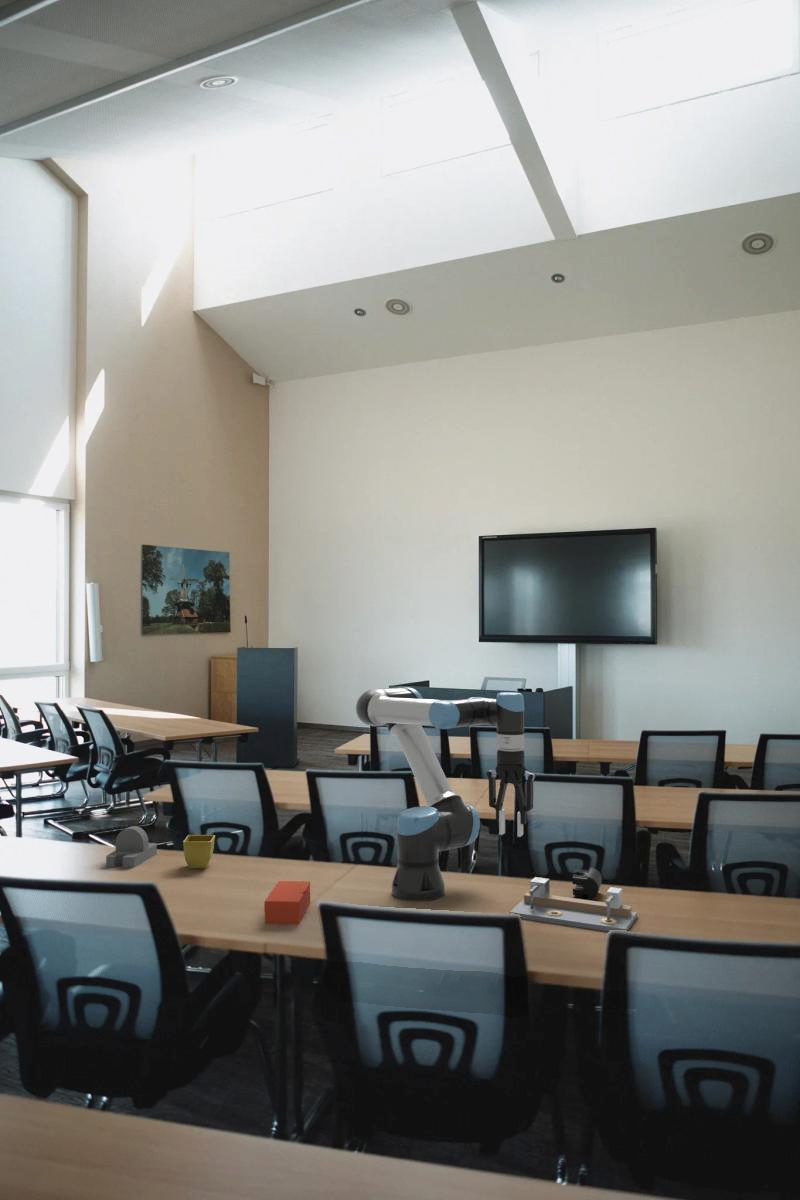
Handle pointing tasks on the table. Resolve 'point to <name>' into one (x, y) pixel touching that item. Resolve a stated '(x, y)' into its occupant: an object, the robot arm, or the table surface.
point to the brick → (287, 902)
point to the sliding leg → (539, 888)
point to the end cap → (586, 884)
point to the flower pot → (198, 850)
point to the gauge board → (579, 911)
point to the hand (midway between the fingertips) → (511, 834)
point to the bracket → (131, 848)
